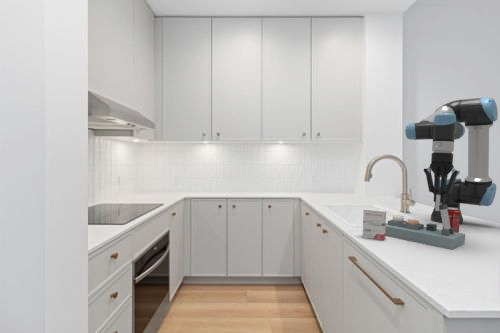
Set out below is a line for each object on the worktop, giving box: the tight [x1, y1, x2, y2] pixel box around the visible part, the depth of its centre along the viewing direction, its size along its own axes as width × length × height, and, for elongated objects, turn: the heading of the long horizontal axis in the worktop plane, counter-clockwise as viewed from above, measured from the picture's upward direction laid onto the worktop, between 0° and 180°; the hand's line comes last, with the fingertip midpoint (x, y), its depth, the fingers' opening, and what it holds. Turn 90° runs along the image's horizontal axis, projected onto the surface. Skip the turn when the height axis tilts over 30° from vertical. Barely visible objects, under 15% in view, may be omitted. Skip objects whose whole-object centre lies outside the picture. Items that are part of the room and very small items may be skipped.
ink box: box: [362, 208, 387, 241], centre depth 139 cm, size 9×5×12 cm, turn 59°
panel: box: [385, 219, 466, 250], centre depth 139 cm, size 14×29×6 cm, turn 41°
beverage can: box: [442, 207, 460, 233], centre depth 147 cm, size 6×6×12 cm
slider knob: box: [425, 223, 438, 231], centre depth 138 cm, size 3×3×2 cm
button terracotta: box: [406, 219, 420, 226], centre depth 141 cm, size 4×4×2 cm
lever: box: [439, 205, 452, 233], centre depth 132 cm, size 4×2×11 cm, turn 131°
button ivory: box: [392, 214, 405, 223], centre depth 146 cm, size 4×4×2 cm
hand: (438, 210), depth 133 cm, fingers closed
